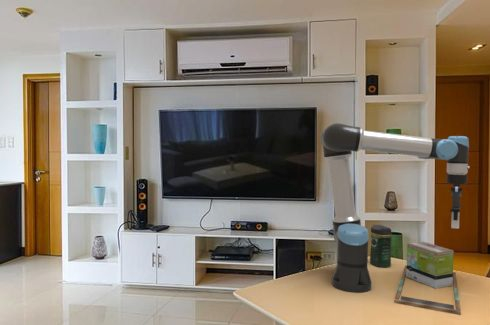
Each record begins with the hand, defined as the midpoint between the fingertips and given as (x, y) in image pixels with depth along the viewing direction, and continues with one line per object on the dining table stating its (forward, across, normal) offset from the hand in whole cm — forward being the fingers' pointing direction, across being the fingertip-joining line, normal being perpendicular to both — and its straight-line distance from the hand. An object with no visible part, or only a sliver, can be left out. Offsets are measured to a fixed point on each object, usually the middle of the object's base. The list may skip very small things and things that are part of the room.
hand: (455, 225), depth 157 cm
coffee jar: (+24, +9, +30) cm, 39 cm away
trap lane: (+23, -13, +9) cm, 28 cm away
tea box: (+24, -6, +9) cm, 26 cm away
